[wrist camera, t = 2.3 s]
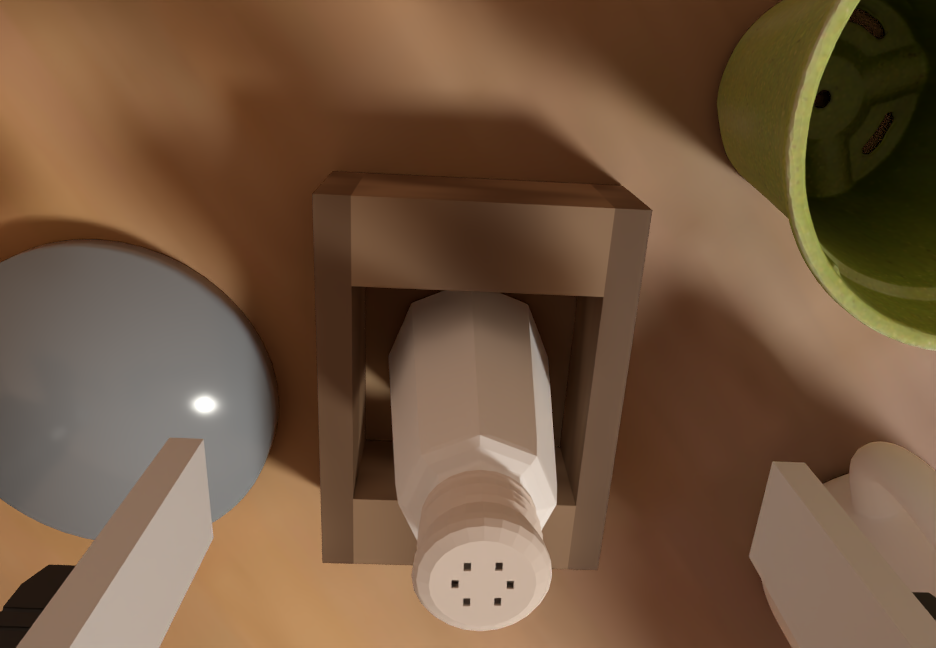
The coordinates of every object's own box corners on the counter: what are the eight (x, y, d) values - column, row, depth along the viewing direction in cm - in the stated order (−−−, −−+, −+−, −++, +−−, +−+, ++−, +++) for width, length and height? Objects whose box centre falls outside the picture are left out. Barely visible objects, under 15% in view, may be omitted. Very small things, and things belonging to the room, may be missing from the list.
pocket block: (338, 498, 26) (322, 562, 23) (332, 171, 22) (312, 193, 18) (579, 505, 26) (597, 569, 23) (622, 185, 22) (652, 209, 19)
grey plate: (-15, 521, 26) (-32, 538, 25) (-85, 231, 22) (-109, 239, 21) (285, 529, 27) (279, 547, 26) (270, 246, 22) (263, 255, 22)
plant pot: (773, -150, 19) (1015, -294, 11) (1042, 12, 21) (1425, -7, 12) (604, 171, 22) (694, 245, 14) (850, 289, 24) (1058, 418, 16)
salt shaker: (552, 280, 23) (634, 467, 13) (542, 425, 25) (606, 686, 15) (387, 277, 23) (337, 466, 13) (390, 423, 25) (349, 687, 15)
